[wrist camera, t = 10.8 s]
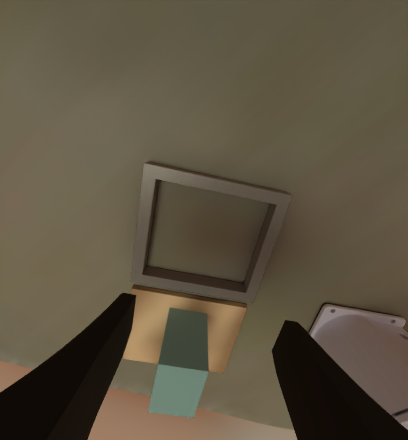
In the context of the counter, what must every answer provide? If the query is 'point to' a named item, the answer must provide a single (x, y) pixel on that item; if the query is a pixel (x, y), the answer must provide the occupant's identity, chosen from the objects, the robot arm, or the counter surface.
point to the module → (181, 364)
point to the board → (163, 300)
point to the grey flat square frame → (196, 282)
